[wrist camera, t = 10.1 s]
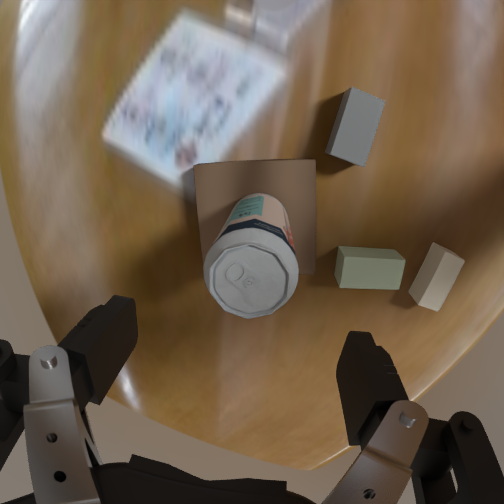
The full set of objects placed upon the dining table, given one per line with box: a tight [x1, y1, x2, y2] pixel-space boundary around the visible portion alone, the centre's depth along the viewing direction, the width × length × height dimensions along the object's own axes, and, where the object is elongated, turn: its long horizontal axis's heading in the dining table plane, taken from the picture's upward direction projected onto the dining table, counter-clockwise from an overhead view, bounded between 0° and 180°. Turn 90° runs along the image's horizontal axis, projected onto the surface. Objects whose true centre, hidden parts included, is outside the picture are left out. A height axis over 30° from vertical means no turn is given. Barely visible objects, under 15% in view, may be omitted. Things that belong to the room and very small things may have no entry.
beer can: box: [204, 193, 299, 319], centre depth 20 cm, size 5×5×12 cm
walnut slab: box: [193, 159, 316, 275], centre depth 27 cm, size 10×10×2 cm
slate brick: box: [325, 87, 385, 167], centre depth 23 cm, size 6×3×3 cm, turn 163°
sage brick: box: [334, 246, 406, 290], centre depth 27 cm, size 6×3×3 cm, turn 88°
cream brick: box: [408, 242, 465, 311], centre depth 27 cm, size 6×3×3 cm, turn 162°
